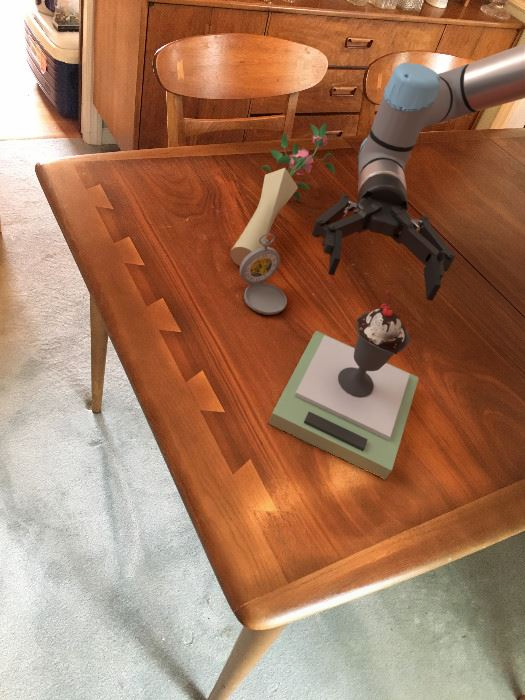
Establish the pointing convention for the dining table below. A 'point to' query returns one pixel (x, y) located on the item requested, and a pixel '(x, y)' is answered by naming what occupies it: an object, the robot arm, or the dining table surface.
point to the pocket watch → (259, 293)
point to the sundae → (373, 348)
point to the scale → (345, 407)
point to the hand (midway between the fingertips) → (384, 280)
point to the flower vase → (277, 193)
